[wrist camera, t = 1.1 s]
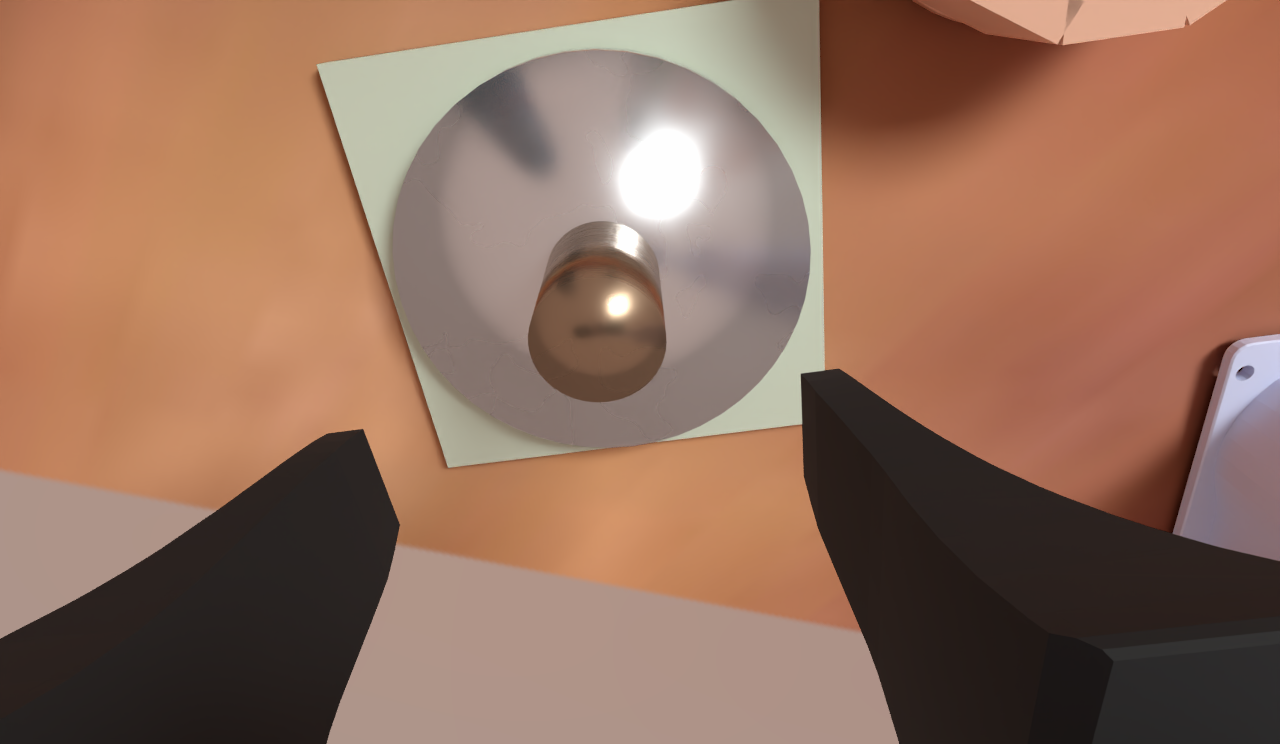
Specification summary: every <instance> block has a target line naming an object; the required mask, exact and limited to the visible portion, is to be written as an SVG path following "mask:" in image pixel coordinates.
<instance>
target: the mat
mask: <svg viewBox="0 0 1280 744" xmlns="http://www.w3.org/2000/svg"><path fill="white" fill-rule="evenodd" d="M595 47H600V48H616V49H628V50H633V51H638V52H643V53H648V54H652V55H657V56H660V57H662V58H665V59H668V60H671V61H674V62H676V63H679V64H682V65H685V66H686V67H688V68H690V69H692V70H694V71H696V72H698V73H700V74H702V75H703V76H705V77H707V78H709V79H711V80H712V81H714V82H715V83H716V84H718V85H719V86H720V87H722V88H723V89H725V90H726V91H727V92H729V93H730V94H731V95H733V96H734V97H735V98H736V99H737V100H738V101H739V102H740V103H741V104H742V105H743V106H745V107H746V108H747V109H748V110H749V111H750V112H751V113H752V114H753V115H754V116H755V117H756V118H757V119H758V120H759V121H760V123H761V124H762V125H763V127H764V128H765V129H766V130H767V132H768V133H769V134H770V136H771V137H772V138H773V139H774V141H775V142H776V143H777V145H778V146H779V148H780V150H781V152H782V153H783V155H784V157H785V159H786V160H787V162H788V164H789V166H790V167H791V169H792V171H793V174H794V177H795V179H796V182H797V184H798V187H799V189H800V192H801V194H802V198H803V202H804V206H805V210H806V214H807V219H808V224H809V235H810V245H811V255H810V275H809V280H808V286H807V291H806V297H805V301H804V304H803V307H802V310H801V313H800V316H799V319H798V322H797V325H796V327H795V329H794V331H793V333H792V335H791V337H790V339H789V341H788V343H787V345H786V347H785V349H784V350H783V352H782V353H781V355H780V356H779V358H778V359H777V361H776V362H775V364H774V366H773V367H772V368H771V369H770V370H769V371H768V373H767V374H766V375H765V376H764V377H763V379H762V380H761V381H760V382H759V383H758V384H757V385H756V386H755V387H754V388H753V389H752V390H751V391H750V392H749V393H748V394H747V395H746V396H745V397H743V398H742V399H741V400H740V401H739V402H737V403H736V404H735V405H733V406H732V407H731V408H729V409H728V410H726V411H725V412H724V413H722V414H721V415H719V416H717V417H716V418H714V419H712V420H710V421H709V422H707V423H705V424H703V425H701V426H699V427H697V428H695V429H692V430H690V431H688V432H685V433H683V434H680V435H678V436H674V437H671V438H668V439H664V440H661V441H669V440H677V439H686V438H694V437H702V436H710V435H718V434H726V433H734V432H742V431H750V430H758V429H767V428H775V427H783V426H791V425H799V424H802V402H801V373H809V372H817V371H825V365H824V297H823V228H822V160H821V92H820V24H819V0H729V1H723V2H716V3H710V4H703V5H697V6H690V7H684V8H677V9H671V10H664V11H657V12H651V13H644V14H638V15H631V16H625V17H618V18H612V19H605V20H599V21H592V22H586V23H579V24H573V25H566V26H560V27H553V28H547V29H540V30H534V31H527V32H521V33H514V34H507V35H501V36H494V37H488V38H481V39H475V40H468V41H462V42H455V43H449V44H442V45H436V46H429V47H423V48H416V49H410V50H403V51H397V52H390V53H384V54H377V55H371V56H364V57H357V58H351V59H344V60H338V61H331V62H325V63H320V64H317V67H318V70H319V74H320V77H321V80H322V83H323V86H324V89H325V92H326V95H327V98H328V101H329V104H330V107H331V110H332V113H333V116H334V120H335V123H336V126H337V129H338V132H339V135H340V138H341V141H342V144H343V147H344V150H345V153H346V156H347V159H348V162H349V165H350V169H351V172H352V175H353V178H354V181H355V184H356V187H357V190H358V193H359V196H360V199H361V202H362V205H363V208H364V211H365V214H366V218H367V221H368V224H369V227H370V230H371V233H372V236H373V239H374V242H375V245H376V248H377V251H378V254H379V257H380V260H381V264H382V267H383V270H384V273H385V276H386V279H387V282H388V285H389V288H390V291H391V294H392V297H393V300H394V303H395V306H396V309H397V313H398V316H399V319H400V322H401V325H402V328H403V331H404V334H405V337H406V340H407V343H408V346H409V349H410V352H411V355H412V358H413V362H414V365H415V368H416V371H417V374H418V377H419V380H420V383H421V386H422V389H423V392H424V395H425V398H426V401H427V404H428V408H429V411H430V414H431V417H432V420H433V423H434V426H435V429H436V432H437V435H438V438H439V441H440V444H441V447H442V450H443V453H444V457H445V460H446V463H447V466H448V468H451V467H459V466H467V465H475V464H483V463H491V462H499V461H507V460H515V459H524V458H532V457H540V456H548V455H556V454H564V453H572V452H580V451H588V450H596V449H605V448H602V447H583V446H576V445H569V444H563V443H558V442H555V441H551V440H547V439H543V438H539V437H536V436H534V435H531V434H528V433H526V432H523V431H521V430H518V429H515V428H514V427H512V426H510V425H508V424H506V423H504V422H502V421H500V420H498V419H496V418H494V417H493V416H491V415H490V414H488V413H487V412H485V411H484V410H482V409H481V408H479V407H478V406H476V405H475V404H473V403H472V402H471V401H470V400H469V399H467V398H466V397H465V396H464V395H463V394H461V393H460V392H459V391H458V390H457V389H456V388H454V386H453V385H452V384H451V383H450V382H449V381H448V380H447V379H446V378H445V377H444V376H443V375H442V374H441V373H440V371H439V370H438V369H437V368H436V366H435V365H434V364H433V362H432V361H431V360H430V358H429V357H428V355H427V354H426V353H425V351H424V350H423V348H422V346H421V345H420V343H419V341H418V339H417V337H416V336H415V334H414V332H413V330H412V328H411V326H410V324H409V321H408V319H407V316H406V314H405V311H404V309H403V306H402V303H401V299H400V295H399V291H398V287H397V283H396V279H395V271H394V262H393V253H392V252H393V225H394V219H395V213H396V207H397V202H398V198H399V195H400V192H401V189H402V185H403V182H404V179H405V176H406V173H407V171H408V169H409V167H410V165H411V163H412V161H413V159H414V157H415V155H416V153H417V151H418V149H419V148H420V146H421V145H422V143H423V142H424V140H425V139H426V138H427V136H428V135H429V133H430V132H431V130H432V129H433V128H434V126H435V125H436V124H437V123H438V122H439V121H440V120H441V119H442V117H443V116H444V115H445V114H446V113H447V112H448V111H449V110H450V109H451V108H452V107H453V106H454V105H455V104H456V103H457V102H458V101H460V100H461V99H462V98H464V97H465V96H466V95H467V94H469V93H470V92H471V91H473V90H474V89H475V88H476V87H478V86H479V85H480V84H482V83H483V82H485V81H486V80H488V79H490V78H492V77H494V76H495V75H497V74H499V73H501V72H502V71H504V70H506V69H508V68H509V67H512V66H514V65H517V64H519V63H522V62H525V61H527V60H530V59H532V58H535V57H537V56H542V55H546V54H550V53H555V52H559V51H563V50H570V49H582V48H595ZM661 441H657V442H661Z"/></svg>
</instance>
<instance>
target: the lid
mask: <svg viewBox="0 0 1280 744" xmlns="http://www.w3.org/2000/svg"><path fill="white" fill-rule="evenodd" d="M392 253H393V262H394V271H395V279H396V283H397V287H398V291H399V295H400V299H401V303H402V306H403V309H404V311H405V314H406V316H407V319H408V321H409V324H410V326H411V328H412V330H413V332H414V334H415V336H416V337H417V339H418V341H419V343H420V345H421V346H422V348H423V350H424V351H425V353H426V354H427V355H428V357H429V358H430V360H431V361H432V362H433V364H434V365H435V366H436V368H437V369H438V370H439V371H440V373H441V374H442V375H443V376H444V377H445V378H446V379H447V380H448V381H449V382H450V383H451V384H452V385H453V386H454V388H456V389H457V390H458V391H459V392H460V393H461V394H463V395H464V396H465V397H466V398H467V399H469V400H470V401H471V402H472V403H473V404H475V405H476V406H478V407H479V408H481V409H482V410H484V411H485V412H487V413H488V414H490V415H491V416H493V417H494V418H496V419H498V420H500V421H502V422H504V423H506V424H508V425H510V426H512V427H514V428H515V429H518V430H521V431H523V432H526V433H528V434H531V435H534V436H536V437H539V438H543V439H547V440H551V441H555V442H558V443H563V444H569V445H576V446H583V447H602V448H613V447H628V446H636V445H642V444H647V443H653V442H657V441H661V440H664V439H668V438H671V437H674V436H678V435H680V434H683V433H685V432H688V431H690V430H692V429H695V428H697V427H699V426H701V425H703V424H705V423H707V422H709V421H710V420H712V419H714V418H716V417H717V416H719V415H721V414H722V413H724V412H725V411H726V410H728V409H729V408H731V407H732V406H733V405H735V404H736V403H737V402H739V401H740V400H741V399H742V398H743V397H745V396H746V395H747V394H748V393H749V392H750V391H751V390H752V389H753V388H754V387H755V386H756V385H757V384H758V383H759V382H760V381H761V380H762V379H763V377H764V376H765V375H766V374H767V373H768V371H769V370H770V369H771V368H772V367H773V366H774V364H775V362H776V361H777V359H778V358H779V356H780V355H781V353H782V352H783V350H784V349H785V347H786V345H787V343H788V341H789V339H790V337H791V335H792V333H793V331H794V329H795V327H796V325H797V322H798V319H799V316H800V313H801V310H802V307H803V304H804V301H805V297H806V291H807V286H808V280H809V275H810V255H811V245H810V235H809V224H808V219H807V214H806V210H805V206H804V202H803V198H802V194H801V192H800V189H799V187H798V184H797V182H796V179H795V177H794V174H793V171H792V169H791V167H790V166H789V164H788V162H787V160H786V159H785V157H784V155H783V153H782V152H781V150H780V148H779V146H778V145H777V143H776V142H775V141H774V139H773V138H772V137H771V136H770V134H769V133H768V132H767V130H766V129H765V128H764V127H763V125H762V124H761V123H760V121H759V120H758V119H757V118H756V117H755V116H754V115H753V114H752V113H751V112H750V111H749V110H748V109H747V108H746V107H745V106H743V105H742V104H741V103H740V102H739V101H738V100H737V99H736V98H735V97H734V96H733V95H731V94H730V93H729V92H727V91H726V90H725V89H723V88H722V87H720V86H719V85H718V84H716V83H715V82H714V81H712V80H711V79H709V78H707V77H705V76H703V75H702V74H700V73H698V72H696V71H694V70H692V69H690V68H688V67H686V66H685V65H682V64H679V63H676V62H674V61H671V60H668V59H665V58H662V57H660V56H657V55H652V54H648V53H643V52H638V51H633V50H628V49H616V48H600V47H595V48H582V49H570V50H563V51H559V52H555V53H550V54H546V55H542V56H537V57H535V58H532V59H530V60H527V61H525V62H522V63H519V64H517V65H514V66H512V67H509V68H508V69H506V70H504V71H502V72H501V73H499V74H497V75H495V76H494V77H492V78H490V79H488V80H486V81H485V82H483V83H482V84H480V85H479V86H478V87H476V88H475V89H474V90H473V91H471V92H470V93H469V94H467V95H466V96H465V97H464V98H462V99H461V100H460V101H458V102H457V103H456V104H455V105H454V106H453V107H452V108H451V109H450V110H449V111H448V112H447V113H446V114H445V115H444V116H443V117H442V119H441V120H440V121H439V122H438V123H437V124H436V125H435V126H434V128H433V129H432V130H431V132H430V133H429V135H428V136H427V138H426V139H425V140H424V142H423V143H422V145H421V146H420V148H419V149H418V151H417V153H416V155H415V157H414V159H413V161H412V163H411V165H410V167H409V169H408V171H407V173H406V176H405V179H404V182H403V185H402V189H401V192H400V195H399V198H398V202H397V207H396V213H395V219H394V225H393V252H392Z"/></svg>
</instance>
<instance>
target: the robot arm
mask: <svg viewBox="0 0 1280 744" xmlns="http://www.w3.org/2000/svg"><path fill="white" fill-rule="evenodd" d="M1242 367H1243V369H1242V370H1241V371H1240V372H1238V370H1239V369H1241V368H1242ZM1237 372H1238V373H1237ZM801 402H802V432H803V463H804V478H805V482H806V486H807V490H808V494H809V497H810V501H811V505H812V508H813V512H814V515H815V519H816V522H817V526H818V529H819V532H820V534H821V537H822V539H823V541H824V544H825V546H826V549H827V551H828V553H829V556H830V558H831V561H832V563H833V565H834V568H835V570H836V572H837V575H838V577H839V580H840V582H841V584H842V587H843V589H844V591H845V594H846V596H847V598H848V601H849V603H850V605H851V608H852V610H853V612H854V615H855V617H856V619H857V622H858V624H859V627H860V629H861V631H862V634H863V636H864V638H865V640H866V643H867V645H868V648H869V651H870V653H871V656H872V659H873V661H874V664H875V667H876V670H877V672H878V675H879V678H880V682H881V685H882V688H883V691H884V695H885V698H886V701H887V704H888V707H889V711H890V714H891V718H892V721H893V724H894V727H895V731H896V734H897V737H898V741H899V744H1280V334H1276V335H1268V336H1260V337H1252V338H1245V339H1241V340H1238V341H1236V342H1235V343H1233V344H1231V345H1230V346H1229V347H1228V348H1227V350H1226V352H1225V354H1224V356H1223V359H1222V363H1221V366H1220V370H1219V373H1218V377H1217V380H1216V384H1215V387H1214V391H1213V394H1212V397H1211V401H1210V404H1209V408H1208V411H1207V415H1206V418H1205V422H1204V425H1203V429H1202V432H1201V436H1200V439H1199V443H1198V446H1197V450H1196V453H1195V457H1194V460H1193V464H1192V467H1191V471H1190V474H1189V478H1188V481H1187V485H1186V488H1185V492H1184V495H1183V499H1182V502H1181V506H1180V509H1179V513H1178V516H1177V520H1176V523H1175V526H1174V530H1173V533H1168V532H1165V531H1162V530H1158V529H1155V528H1151V527H1148V526H1145V525H1142V524H1139V523H1136V522H1133V521H1130V520H1127V519H1124V518H1121V517H1118V516H1115V515H1112V514H1109V513H1106V512H1104V511H1101V510H1098V509H1096V508H1093V507H1090V506H1088V505H1085V504H1082V503H1079V502H1077V501H1074V500H1071V499H1069V498H1066V497H1063V496H1061V495H1059V494H1056V493H1054V492H1051V491H1049V490H1046V489H1044V488H1042V487H1039V486H1037V485H1035V484H1032V483H1030V482H1028V481H1026V480H1024V479H1022V478H1020V477H1017V476H1015V475H1013V474H1011V473H1009V472H1007V471H1004V470H1002V469H1000V468H998V467H996V466H994V465H992V464H990V463H988V462H986V461H984V460H982V459H980V458H978V457H976V456H974V455H973V454H971V453H969V452H967V451H965V450H964V449H962V448H960V447H958V446H957V445H955V444H953V443H951V442H950V441H948V440H946V439H944V438H942V437H941V436H939V435H937V434H936V433H934V432H933V431H931V430H929V429H928V428H926V427H924V426H923V425H921V424H920V423H918V422H916V421H915V420H913V419H912V418H910V417H909V416H907V415H906V414H904V413H903V412H901V411H900V410H898V409H897V408H895V407H894V406H892V405H891V404H889V403H888V402H886V401H885V400H884V399H882V398H881V397H879V396H878V395H876V394H875V393H874V392H872V391H871V390H869V389H868V388H866V387H865V386H864V385H862V384H861V383H859V382H858V381H857V380H855V379H854V378H852V377H851V376H849V375H848V374H846V373H845V372H843V371H842V370H840V369H833V370H825V371H817V372H809V373H801ZM399 526H400V524H399V521H398V519H397V516H396V514H395V511H394V508H393V506H392V503H391V501H390V498H389V495H388V493H387V490H386V488H385V485H384V482H383V480H382V477H381V475H380V472H379V469H378V467H377V464H376V462H375V459H374V456H373V454H372V451H371V449H370V446H369V443H368V441H367V438H366V436H365V433H364V430H363V429H360V430H352V431H344V432H336V433H328V434H326V435H324V436H322V437H321V438H319V439H317V440H315V441H314V442H312V443H311V444H309V445H308V446H306V447H305V448H303V449H302V450H300V451H299V452H297V453H296V454H294V455H293V456H292V457H290V458H289V459H287V460H286V461H285V462H283V463H282V464H280V465H279V466H278V467H276V468H275V469H274V470H272V471H271V472H269V473H268V474H267V475H265V476H264V477H263V478H261V479H260V480H259V481H257V482H256V483H254V484H253V485H252V486H250V487H249V488H248V489H246V490H245V491H243V492H242V493H241V494H239V495H238V496H237V497H235V498H234V499H232V500H231V501H230V502H228V503H227V504H226V505H224V506H223V507H221V508H220V509H219V510H217V511H216V512H214V513H213V514H211V515H210V516H208V517H207V518H205V519H204V520H202V521H201V522H200V523H198V524H197V525H195V526H194V527H192V528H191V529H189V530H188V531H186V532H185V533H184V534H182V535H181V536H179V537H178V538H176V539H175V540H173V541H172V542H171V543H169V544H168V545H166V546H165V547H163V548H162V549H160V550H158V551H157V552H155V553H154V554H152V555H151V556H149V557H148V558H146V559H144V560H143V561H141V562H139V563H138V564H136V565H135V566H133V567H131V568H130V569H128V570H126V571H125V572H123V573H121V574H120V575H118V576H116V577H115V578H113V579H111V580H109V581H108V582H106V583H104V584H102V585H101V586H99V587H97V588H96V589H94V590H92V591H90V592H89V593H87V594H85V595H83V596H81V597H80V598H78V599H76V600H75V601H72V602H70V603H69V604H67V605H65V606H63V607H61V608H59V609H57V610H55V611H53V612H51V613H49V614H47V615H45V616H43V617H41V618H40V619H38V620H36V621H34V622H32V623H30V624H28V625H26V626H24V627H22V628H20V629H18V630H16V631H14V632H12V633H10V634H8V635H7V636H5V637H3V638H1V639H0V744H326V743H327V740H328V735H329V732H330V729H331V726H332V723H333V720H334V718H335V715H336V712H337V709H338V706H339V703H340V700H341V698H342V695H343V692H344V690H345V688H346V685H347V683H348V680H349V678H350V675H351V672H352V670H353V667H354V665H355V662H356V660H357V657H358V655H359V652H360V649H361V647H362V645H363V642H364V639H365V637H366V634H367V632H368V629H369V627H370V624H371V622H372V619H373V616H374V614H375V611H376V609H377V606H378V603H379V601H380V598H381V596H382V593H383V590H384V587H385V585H386V582H387V579H388V575H389V571H390V567H391V563H392V559H393V555H394V551H395V546H396V541H397V536H398V531H399Z"/></svg>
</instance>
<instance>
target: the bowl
mask: <svg viewBox="0 0 1280 744" xmlns="http://www.w3.org/2000/svg"><path fill="white" fill-rule="evenodd" d="M912 1H914V2H915V3H917V4H918V5H920V6H922V7H923V8H925V9H927V10H928V11H930V12H932V13H935V14H937V15H940V16H942V17H945V18H947V19H950V20H953V21H957V22H961V23H964V24H966V25H968V26H970V27H972V28H974V29H976V30H978V31H980V32H982V33H984V34H989V35H996V36H1003V37H1010V38H1017V39H1023V40H1030V41H1037V42H1044V43H1051V44H1058V45H1067V44H1074V43H1081V42H1088V41H1095V40H1102V39H1108V38H1115V37H1122V36H1129V35H1136V34H1142V33H1149V32H1156V31H1163V30H1170V29H1176V28H1183V27H1184V25H1191V24H1192V23H1194V22H1195V21H1197V20H1198V19H1200V18H1201V17H1203V16H1204V15H1205V14H1207V13H1208V12H1210V11H1211V10H1213V9H1214V8H1216V7H1217V6H1219V5H1220V4H1222V3H1223V2H1225V1H1226V0H912Z"/></svg>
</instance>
